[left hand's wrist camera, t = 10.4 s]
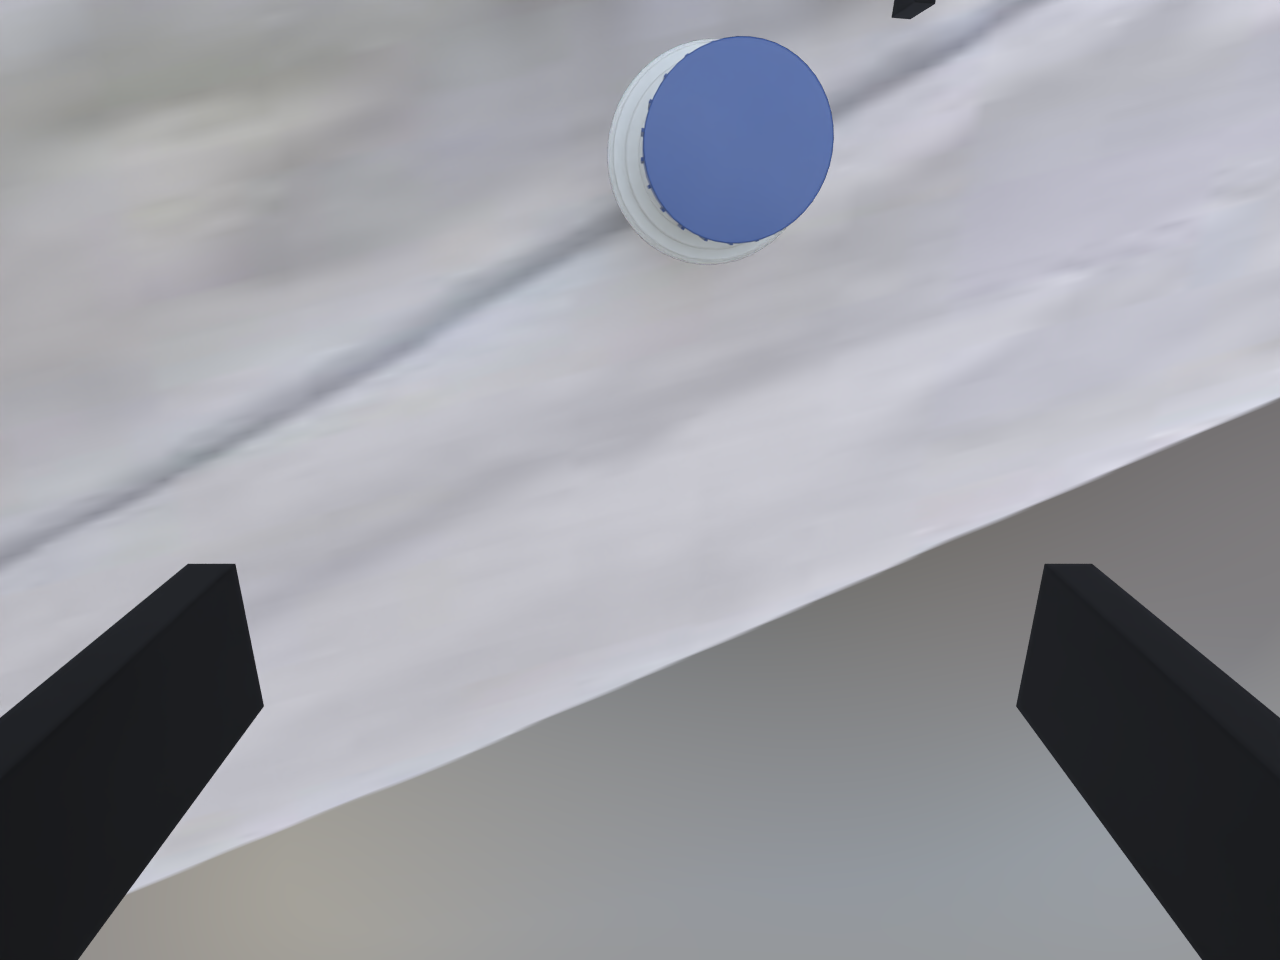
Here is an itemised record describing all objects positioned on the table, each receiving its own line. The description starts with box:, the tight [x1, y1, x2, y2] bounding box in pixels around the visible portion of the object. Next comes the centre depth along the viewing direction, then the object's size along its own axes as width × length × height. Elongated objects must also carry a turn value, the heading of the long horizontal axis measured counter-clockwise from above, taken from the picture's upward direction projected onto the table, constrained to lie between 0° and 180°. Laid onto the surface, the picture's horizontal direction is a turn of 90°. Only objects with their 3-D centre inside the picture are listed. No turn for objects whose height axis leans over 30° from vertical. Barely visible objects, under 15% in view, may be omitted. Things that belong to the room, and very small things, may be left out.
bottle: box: [607, 39, 786, 265], centre depth 28 cm, size 6×6×21 cm
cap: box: [641, 36, 834, 245], centre depth 18 cm, size 4×4×2 cm
